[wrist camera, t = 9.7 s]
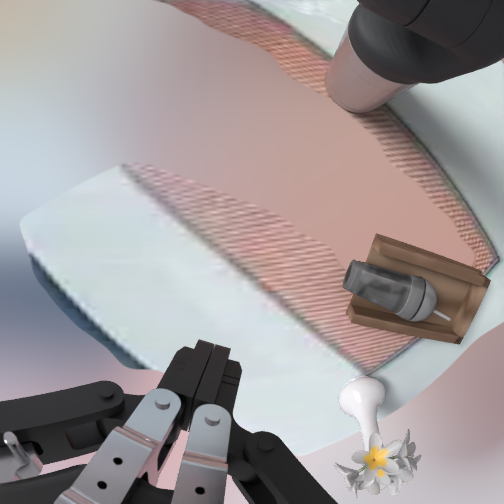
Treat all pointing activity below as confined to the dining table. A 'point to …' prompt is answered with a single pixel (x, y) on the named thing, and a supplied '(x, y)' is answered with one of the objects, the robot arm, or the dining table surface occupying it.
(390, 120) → the dining table surface
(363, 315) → the u rest
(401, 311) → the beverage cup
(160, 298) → the dining table surface
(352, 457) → the flower vase
